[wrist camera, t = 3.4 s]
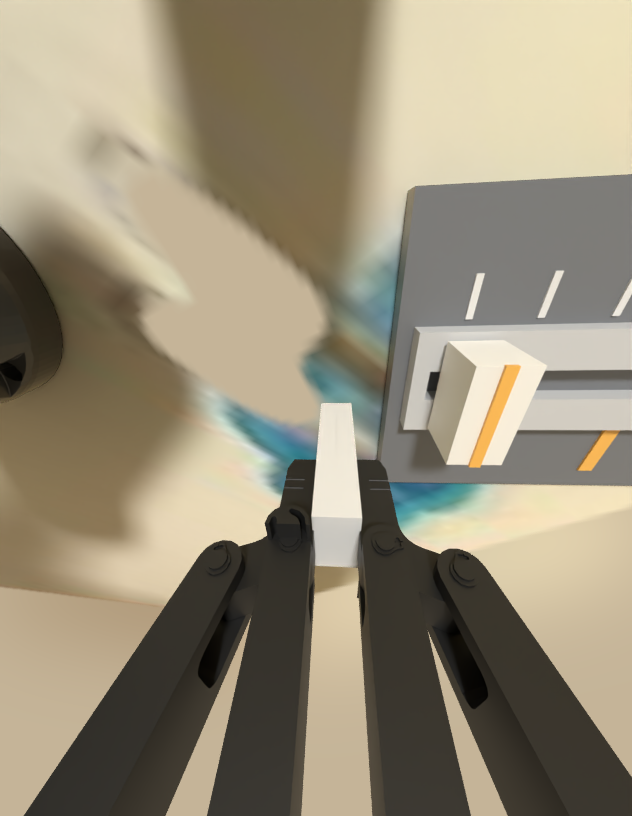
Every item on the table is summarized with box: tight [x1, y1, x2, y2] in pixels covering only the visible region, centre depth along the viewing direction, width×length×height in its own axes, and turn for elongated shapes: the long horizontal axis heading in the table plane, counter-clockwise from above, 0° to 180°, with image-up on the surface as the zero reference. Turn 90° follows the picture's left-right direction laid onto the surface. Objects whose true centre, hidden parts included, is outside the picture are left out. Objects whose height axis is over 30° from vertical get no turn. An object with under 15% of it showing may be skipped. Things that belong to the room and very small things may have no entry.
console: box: [377, 174, 632, 486], centre depth 17 cm, size 24×20×3 cm
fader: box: [428, 340, 547, 468], centre depth 15 cm, size 3×6×5 cm, turn 2°
